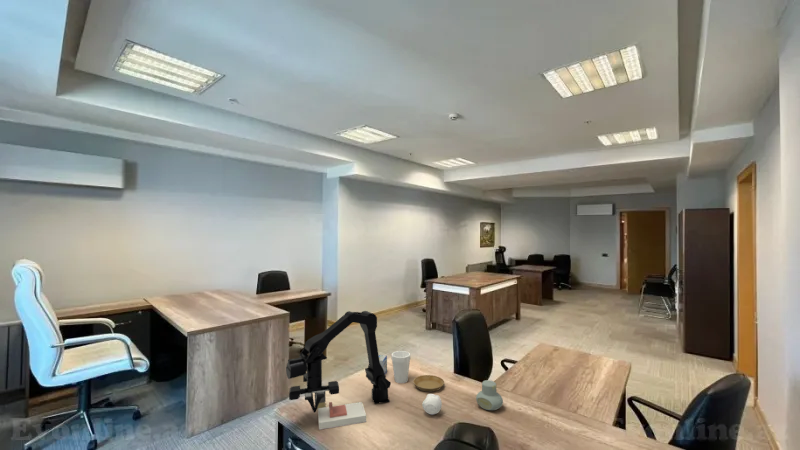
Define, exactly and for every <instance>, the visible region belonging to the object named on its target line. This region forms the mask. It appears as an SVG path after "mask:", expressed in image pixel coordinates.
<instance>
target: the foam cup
mask: <svg viewBox="0 0 800 450" xmlns="http://www.w3.org/2000/svg"><path fill="white" fill-rule="evenodd" d="M390 356H391V363H392V370H393V377H394V382H395V383H397V384H405V383H407V382H408V379H409V371H410V360H411V353H410V352H409V351H406V350H397V351H393V352H392V353H391V355H390Z"/></svg>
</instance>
